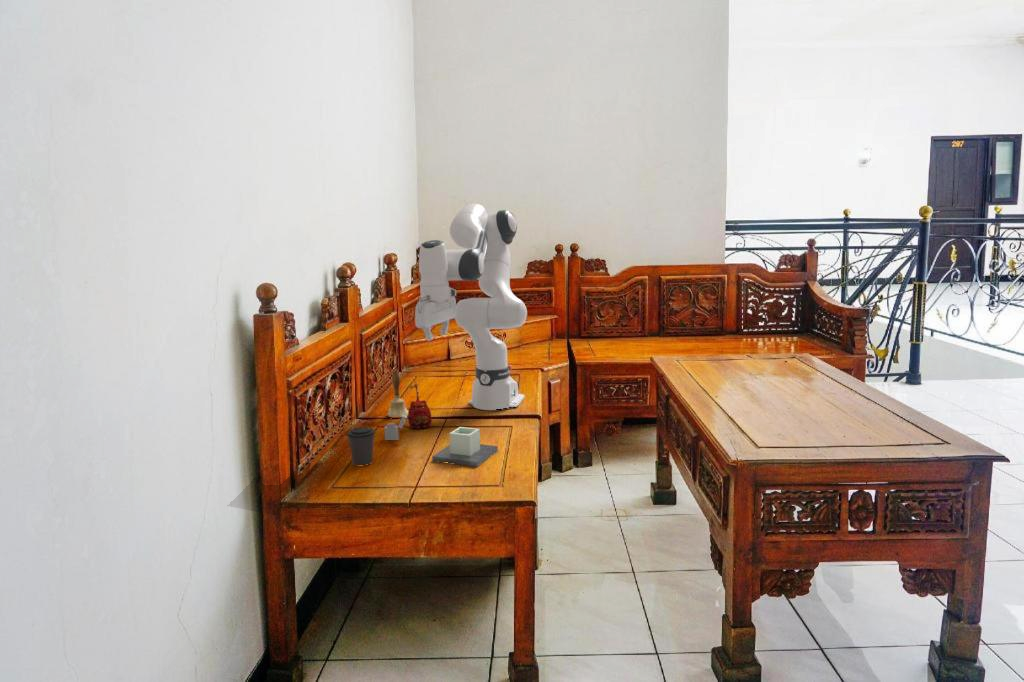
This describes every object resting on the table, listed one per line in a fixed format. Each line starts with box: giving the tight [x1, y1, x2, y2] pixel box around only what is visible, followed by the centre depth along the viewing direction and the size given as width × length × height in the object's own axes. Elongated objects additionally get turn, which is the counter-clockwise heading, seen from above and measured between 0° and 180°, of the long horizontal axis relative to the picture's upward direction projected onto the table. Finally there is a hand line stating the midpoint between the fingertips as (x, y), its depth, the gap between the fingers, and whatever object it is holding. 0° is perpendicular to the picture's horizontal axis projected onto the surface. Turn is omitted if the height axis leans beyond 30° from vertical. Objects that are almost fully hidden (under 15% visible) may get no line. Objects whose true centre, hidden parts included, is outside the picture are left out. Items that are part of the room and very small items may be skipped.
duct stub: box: [431, 433, 499, 468], centre depth 208 cm, size 14×14×6 cm
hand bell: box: [386, 369, 409, 417], centre depth 249 cm, size 8×8×16 cm
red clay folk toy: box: [407, 380, 432, 430], centre depth 235 cm, size 8×7×15 cm
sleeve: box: [449, 426, 481, 456], centre depth 207 cm, size 6×6×6 cm
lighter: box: [384, 414, 408, 441], centre depth 224 cm, size 7×2×8 cm, turn 92°
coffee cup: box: [346, 426, 376, 466], centre depth 204 cm, size 8×8×10 cm
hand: (436, 337), depth 227 cm, fingers open, 8 cm apart
